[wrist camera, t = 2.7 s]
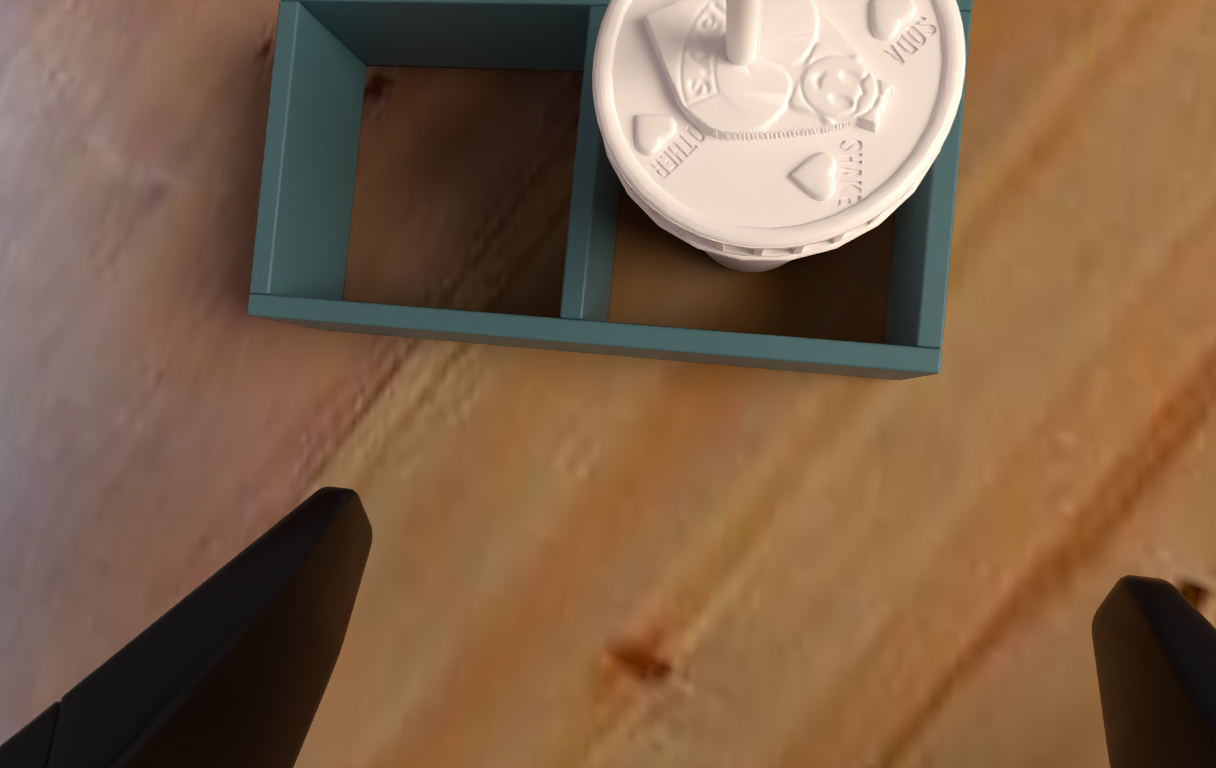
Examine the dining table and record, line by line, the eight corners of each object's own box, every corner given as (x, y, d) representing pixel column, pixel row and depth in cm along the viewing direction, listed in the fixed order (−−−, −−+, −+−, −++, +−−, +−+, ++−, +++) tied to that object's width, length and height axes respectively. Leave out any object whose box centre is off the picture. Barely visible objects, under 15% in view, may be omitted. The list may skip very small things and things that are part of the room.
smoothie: (699, 72, 23) (654, -438, 9) (904, 149, 22) (1201, -291, 8) (611, 268, 23) (440, 60, 9) (810, 353, 22) (948, 261, 8)
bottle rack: (902, 380, 22) (941, 374, 18) (323, 330, 25) (245, 314, 21) (930, 61, 22) (975, -16, 18) (352, 46, 25) (281, -22, 21)
